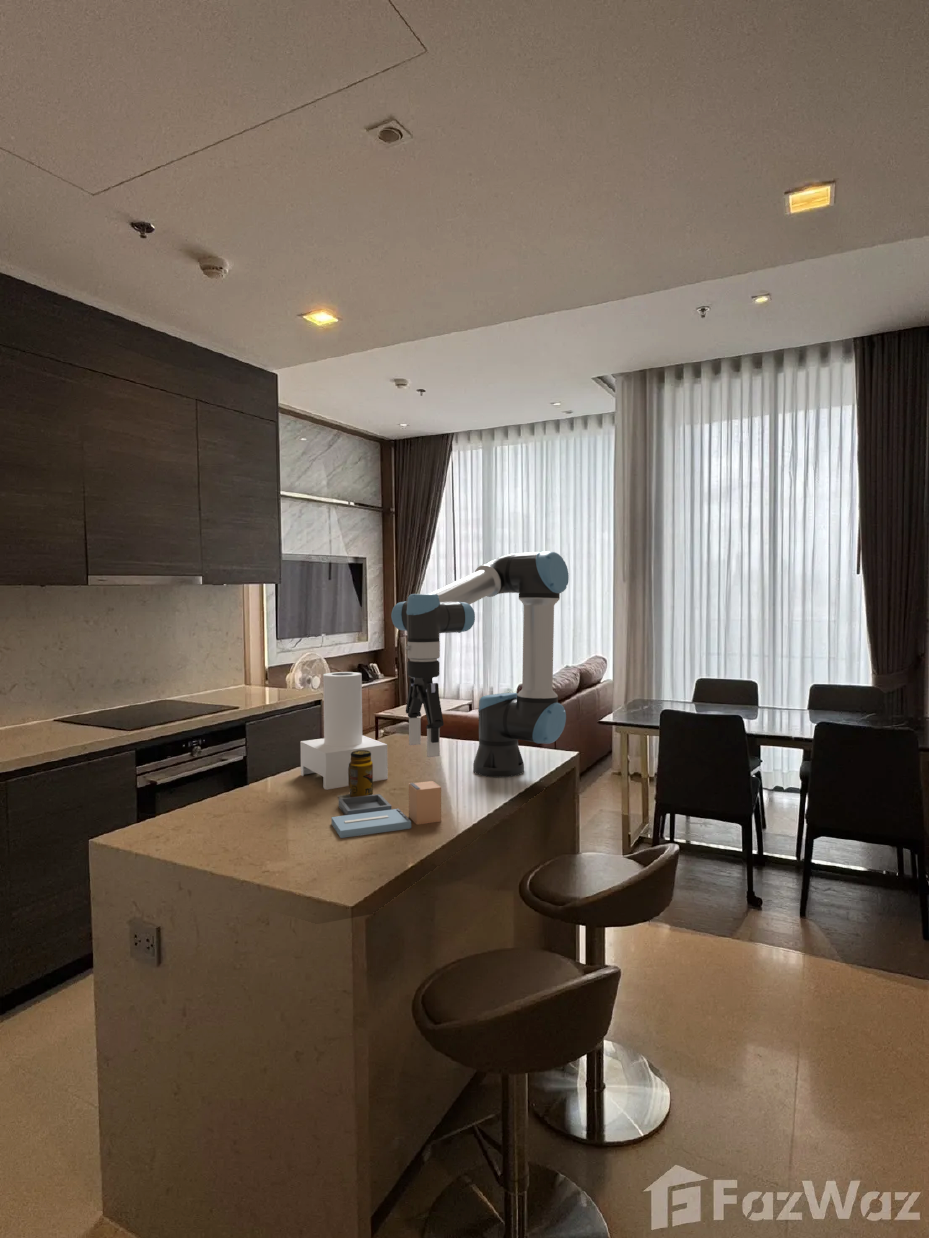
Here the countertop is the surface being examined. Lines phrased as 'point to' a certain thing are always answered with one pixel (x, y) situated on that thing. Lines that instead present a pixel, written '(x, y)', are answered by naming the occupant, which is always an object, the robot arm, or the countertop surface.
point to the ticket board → (370, 823)
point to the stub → (425, 802)
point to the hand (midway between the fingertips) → (423, 750)
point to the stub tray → (363, 804)
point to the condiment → (360, 774)
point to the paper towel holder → (341, 734)
